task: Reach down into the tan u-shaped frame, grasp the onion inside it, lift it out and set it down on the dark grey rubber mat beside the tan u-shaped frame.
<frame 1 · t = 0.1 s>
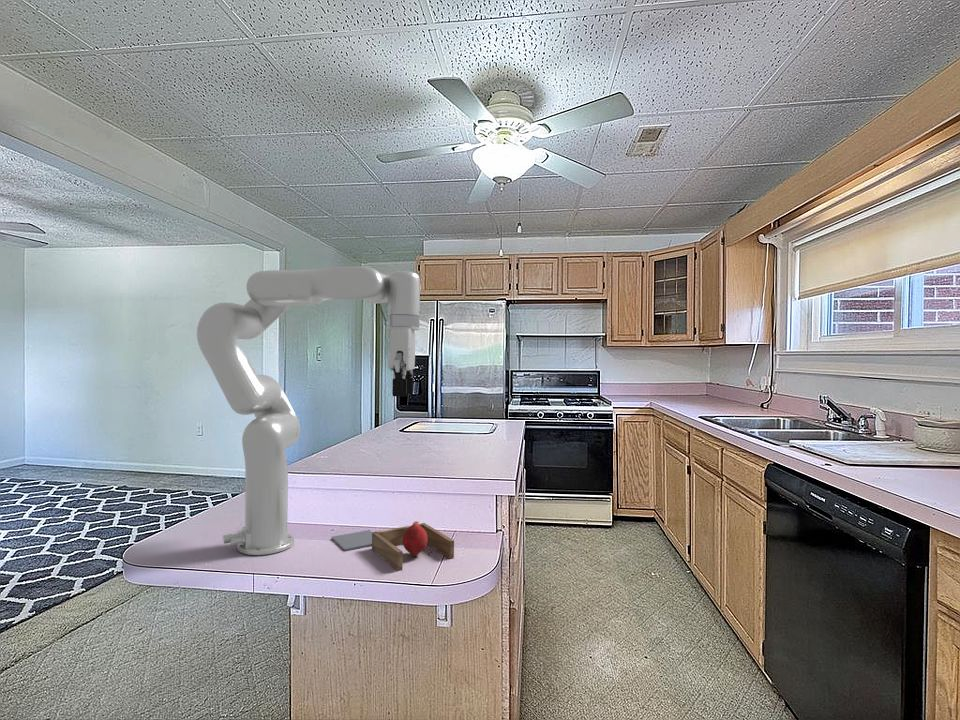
hand: (403, 394, 126), 37 cm above the worktop, tool pointing down, fingers open, 9 cm apart
mat: (357, 541, 131), on the worktop
onion: (414, 556, 122), on the worktop
tan u-shaped frame: (413, 554, 123), on the worktop
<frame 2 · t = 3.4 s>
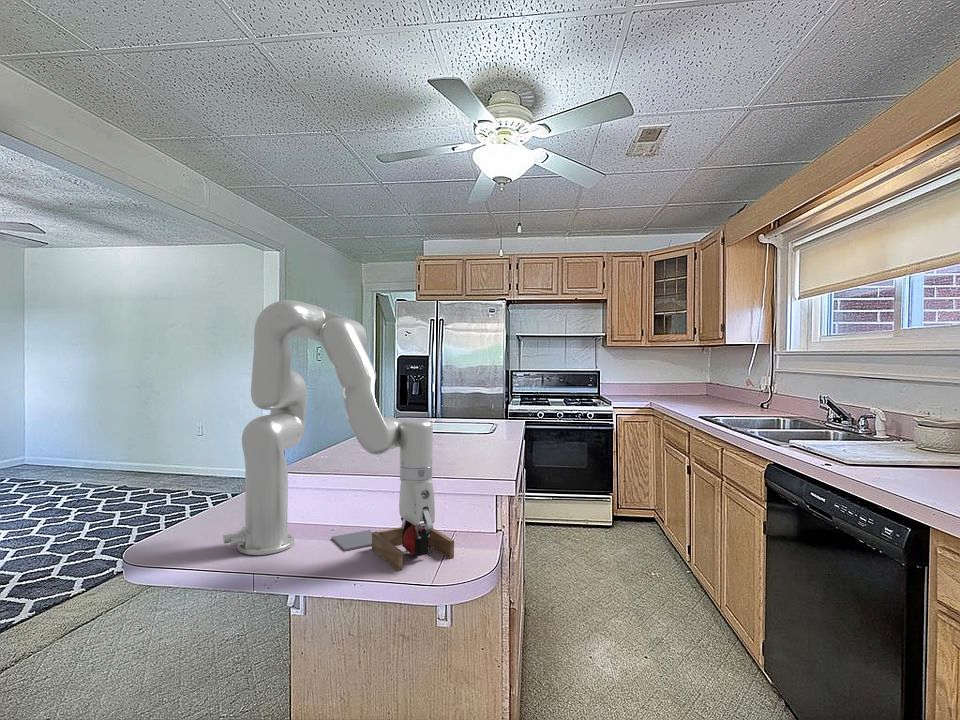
hand: (415, 549, 122), 1 cm above the worktop, tool pointing down, fingers closed on onion, 5 cm apart
onion: (415, 556, 122), on the worktop, touching gripper
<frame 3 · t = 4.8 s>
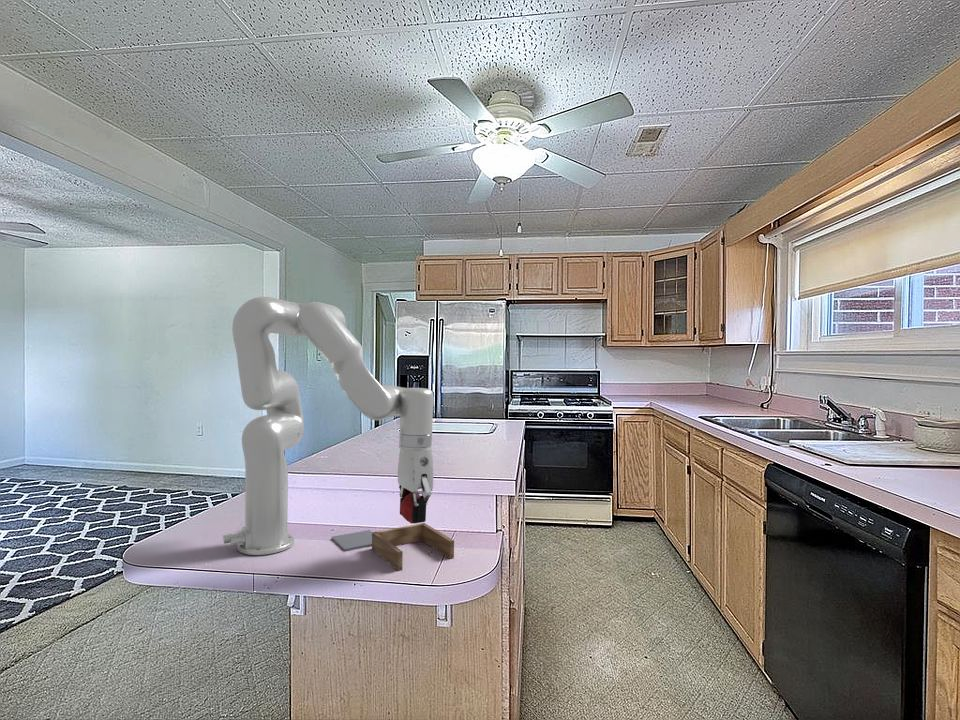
hand: (412, 517, 122), 9 cm above the worktop, tool pointing down, fingers closed on onion, 5 cm apart
onion: (412, 524, 122), point 7 cm above the worktop, touching gripper
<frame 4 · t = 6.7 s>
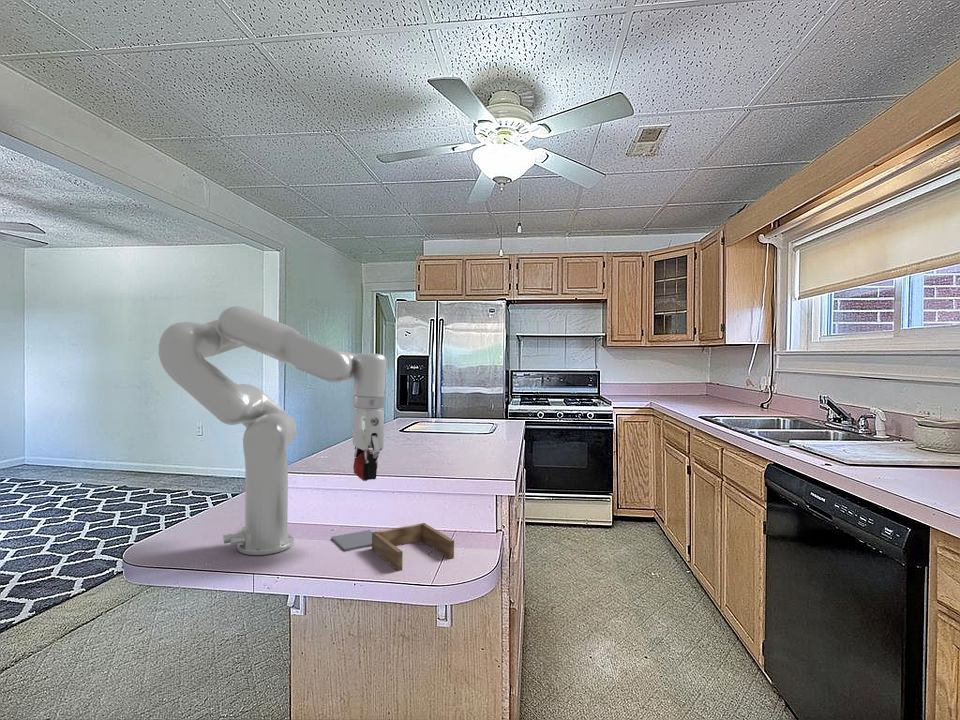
hand: (364, 475, 129), 17 cm above the worktop, tool pointing down, fingers closed on onion, 5 cm apart
onion: (364, 481, 129), point 15 cm above the worktop, touching gripper
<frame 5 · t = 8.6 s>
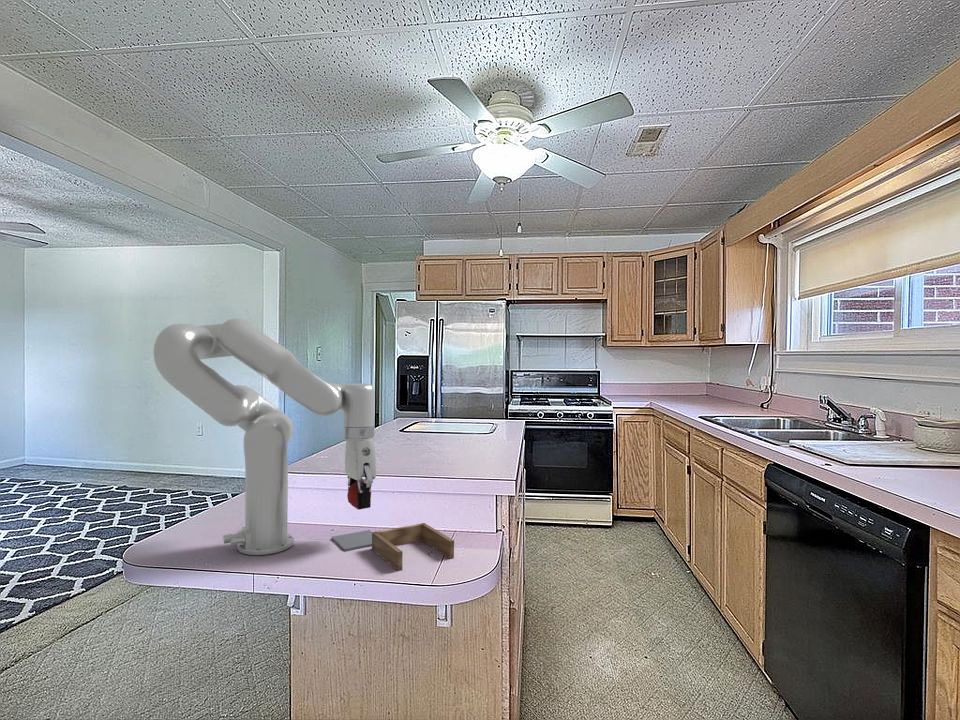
hand: (359, 504, 131), 9 cm above the worktop, tool pointing down, fingers closed on onion, 5 cm apart
onion: (359, 510, 131), point 8 cm above the worktop, touching gripper
when the fingers open (3 cm above the worktop, at t = 10.1 s): onion drops 2 cm, resting on mat.
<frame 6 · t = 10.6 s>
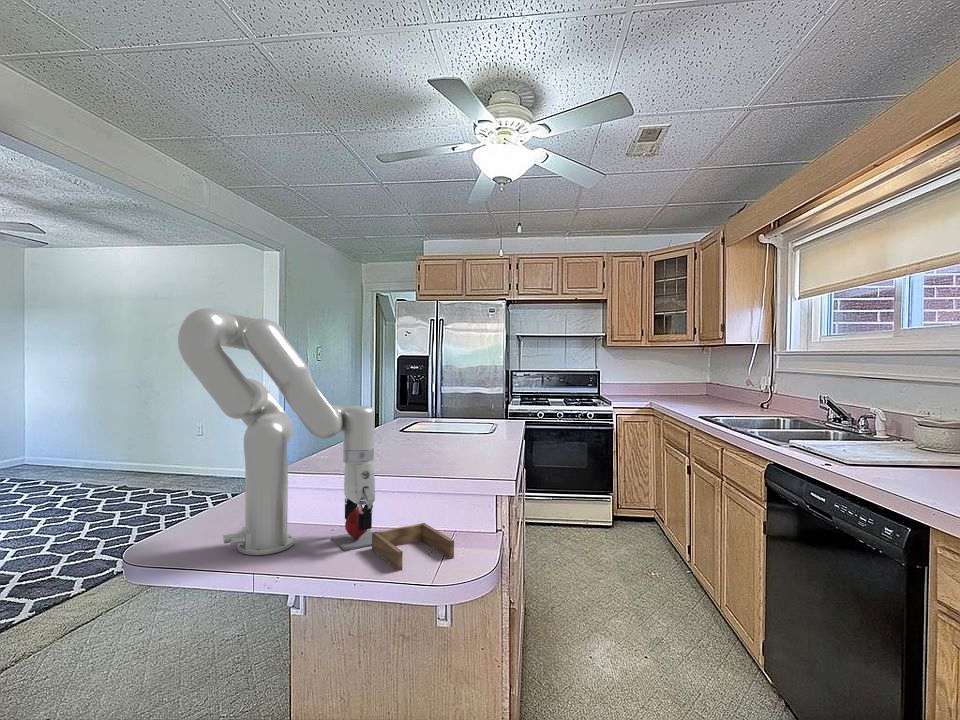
hand: (357, 523, 131), 4 cm above the worktop, tool pointing down, fingers open, 9 cm apart
onion: (356, 539, 131), resting on mat
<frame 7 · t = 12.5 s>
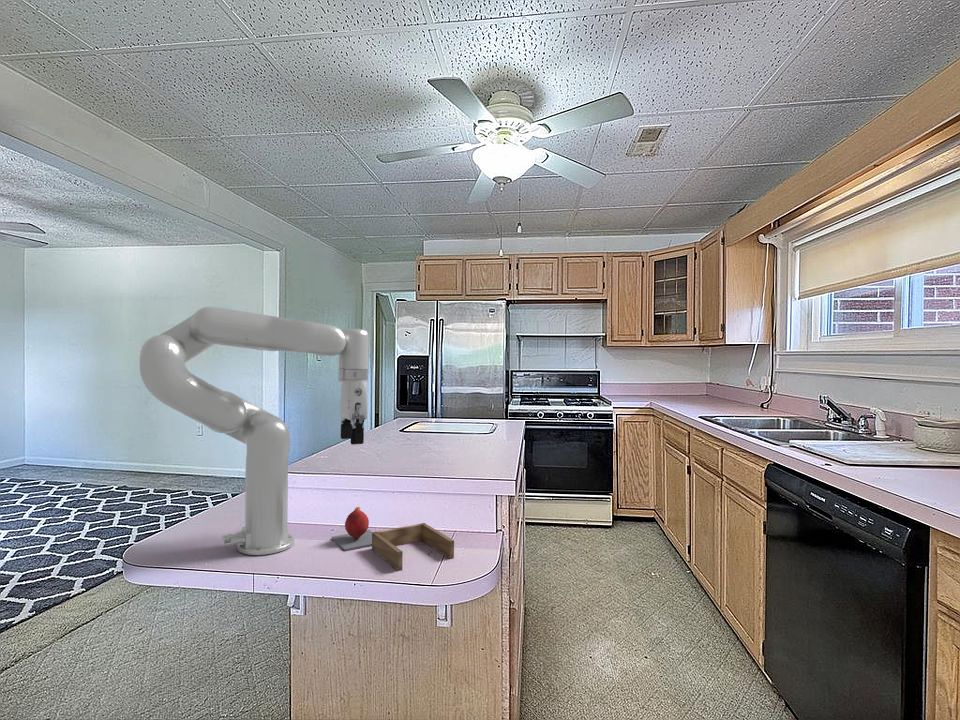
hand: (351, 441, 137), 24 cm above the worktop, tool pointing down, fingers open, 9 cm apart
nothing on the worktop moved.
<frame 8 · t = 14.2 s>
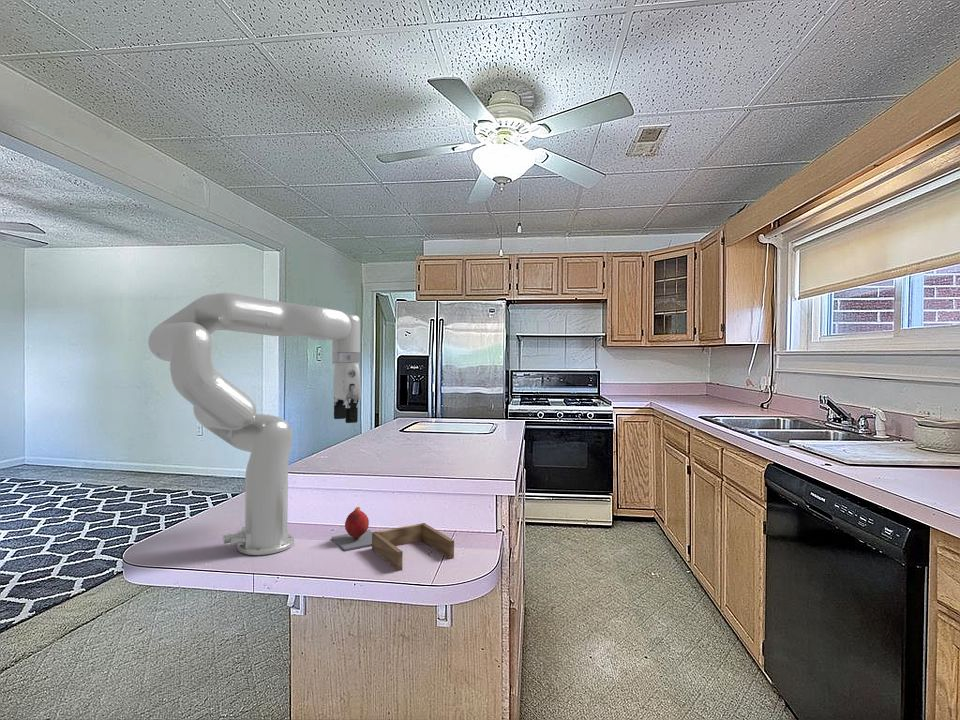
hand: (345, 420, 145), 28 cm above the worktop, tool pointing down, fingers open, 9 cm apart
nothing on the worktop moved.
at the end: onion inside the target area on the mat (0.3 cm from its centre), point 0.3 cm above the mat's base; the gripper is holding nothing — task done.
